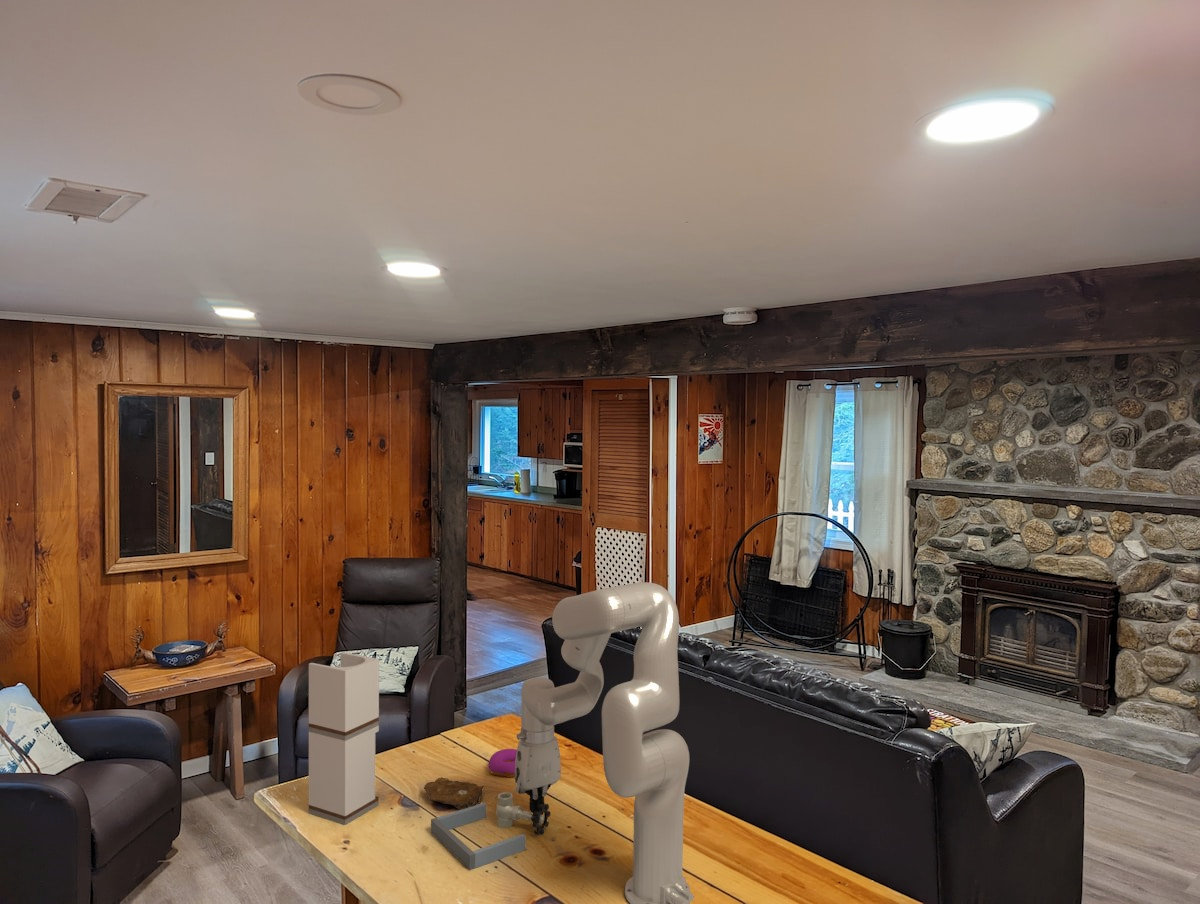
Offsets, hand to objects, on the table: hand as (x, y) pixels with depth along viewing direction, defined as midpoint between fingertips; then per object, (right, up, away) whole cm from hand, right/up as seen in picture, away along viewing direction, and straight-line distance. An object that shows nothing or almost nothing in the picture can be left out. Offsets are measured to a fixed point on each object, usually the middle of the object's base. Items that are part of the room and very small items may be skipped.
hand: (536, 812), depth 180 cm
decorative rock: (-21, -2, +10) cm, 24 cm away
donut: (-9, -1, +26) cm, 28 cm away
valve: (-3, -2, -3) cm, 5 cm away
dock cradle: (-12, -2, -9) cm, 15 cm away
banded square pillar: (-46, -1, +4) cm, 46 cm away
